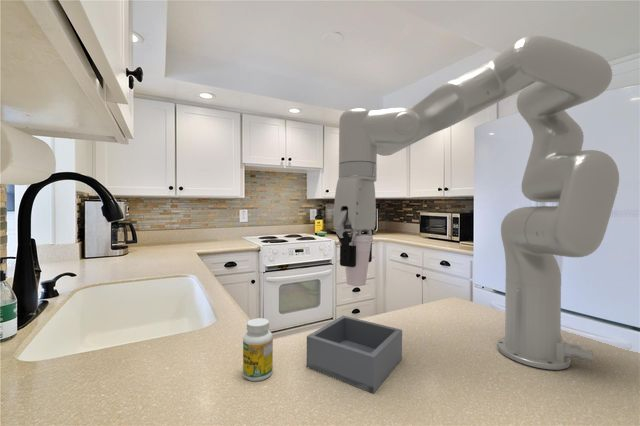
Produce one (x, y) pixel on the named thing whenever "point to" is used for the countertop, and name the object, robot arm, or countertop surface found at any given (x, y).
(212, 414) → the countertop surface
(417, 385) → the countertop surface
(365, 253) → the smoothie
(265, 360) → the supplement bottle
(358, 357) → the box
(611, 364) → the countertop surface
